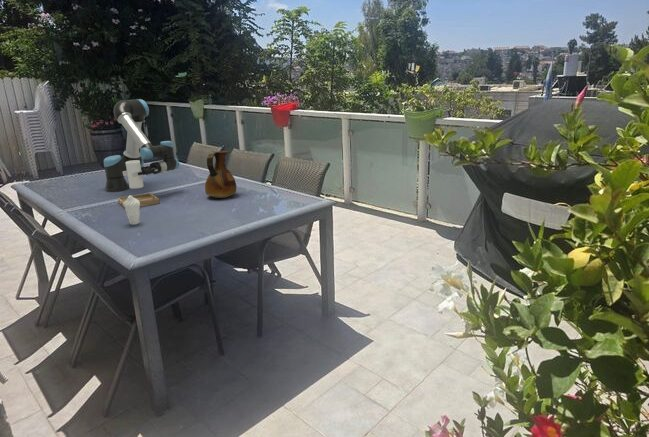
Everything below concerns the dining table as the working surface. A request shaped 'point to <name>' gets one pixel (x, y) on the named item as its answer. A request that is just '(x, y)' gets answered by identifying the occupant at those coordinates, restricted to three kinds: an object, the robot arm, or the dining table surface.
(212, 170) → the ceramic pitcher
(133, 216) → the soft serve ice cream cone
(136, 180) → the cup
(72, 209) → the dining table surface
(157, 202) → the tray
